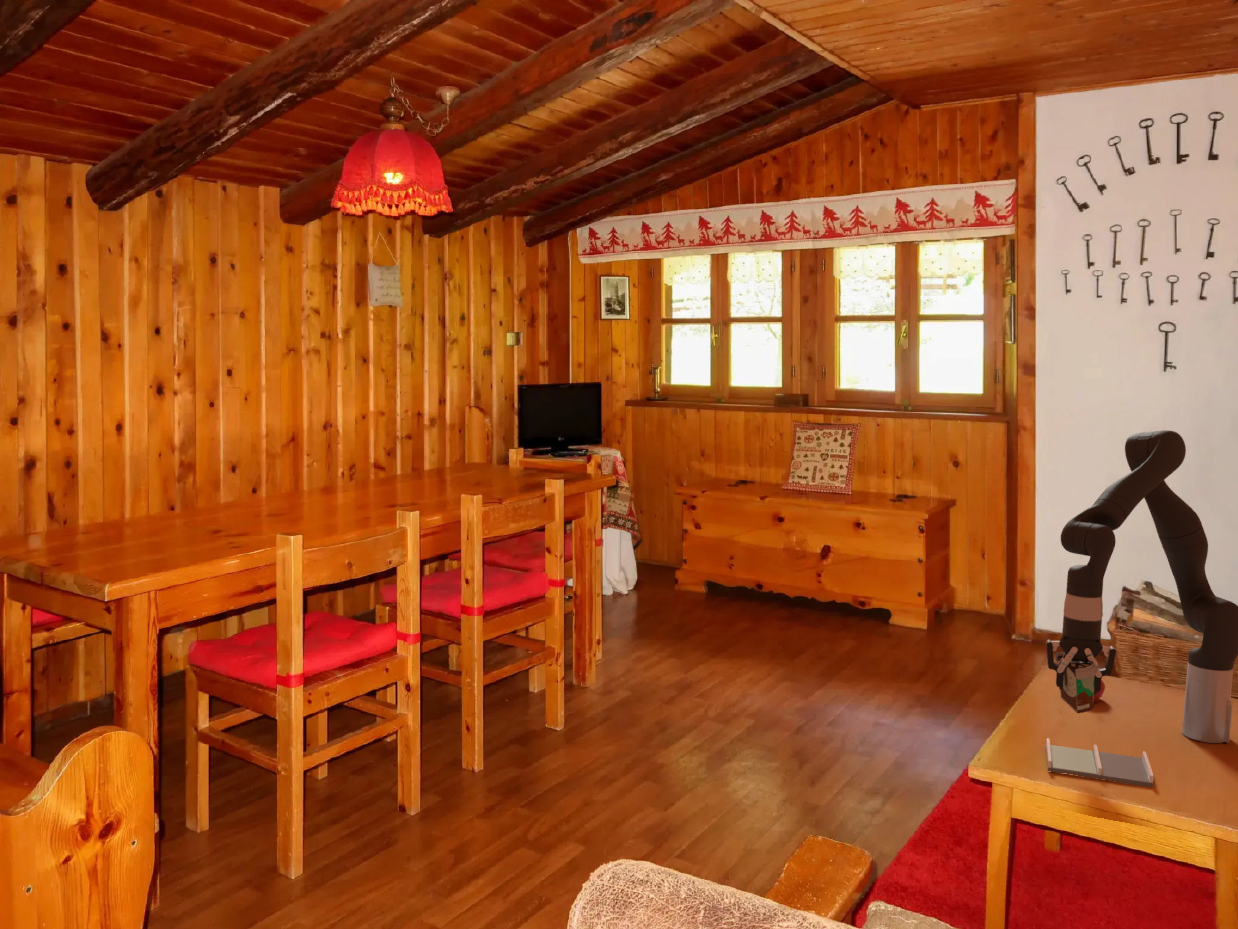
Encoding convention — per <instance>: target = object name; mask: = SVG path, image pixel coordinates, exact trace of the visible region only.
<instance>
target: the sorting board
mask: <svg viewBox="0 0 1238 929" xmlns="http://www.w3.org/2000/svg"><path fill="white" fill-rule="evenodd" d="M1045 743H1046V744H1045V755H1046V754H1047V756H1046V765H1047V766H1048V768H1047V772H1048V771H1051V772H1056V773H1055V774H1058V773H1067V774H1073V775H1078V776H1084V777H1083V778H1085V777H1090V778H1089V779H1091V778H1098V779H1105V780H1111V781H1110V782H1112V781H1116V782H1115V783H1118V782H1120V783H1119V784H1127V785H1133V786H1138V785H1140V787H1147V788H1154V779H1155V778H1154V776H1155V775H1154V773H1153V770H1152V766H1151V764H1150V760H1149V758H1148V755H1147V752H1146V751H1145V750H1143V751H1142V754H1141V756H1140V757H1139V756H1132V755H1125V754H1117V753H1110V752H1104V751H1103V752H1102V751H1099V748H1098V745H1097V744H1093V750H1091V749H1090V750H1089V749H1084V748H1083V749H1082V748H1077V747H1076V748H1075V747H1067V746H1061V745H1053V744H1051V740H1050V737H1047V738H1046V742H1045ZM1051 772H1050V773H1051ZM1078 776H1077V777H1078ZM1098 779H1097V780H1098ZM1105 780H1104V781H1105Z"/></svg>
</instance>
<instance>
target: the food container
mask: <svg viewBox="0 0 1238 929" xmlns="http://www.w3.org/2000/svg"><path fill="white" fill-rule="evenodd" d="M1063 655H1064V651H1063V652H1056V653H1055V662H1056V664H1058V663H1059V662H1060V660H1061V658H1062V657H1063ZM1097 672H1098V670H1097V667H1096V665H1094V662H1093V664H1092V665H1091V664H1090V662H1088V663H1084V662H1081V661H1077V662H1074V661H1072V660H1071V661H1070V662H1069V664H1068V665H1067V666H1066V668H1065V669H1064V681H1063V690H1059V692H1060V698H1061V699H1062V701H1064V702H1065V703H1066V704H1067V705H1068V706H1069V707H1070V708H1071V709H1072V710H1073V711H1074V712H1075V713H1077V714H1082V713H1086V712H1090V711H1091V710H1093V709H1094V708H1095V702H1094V675H1095V674H1096V673H1097Z"/></svg>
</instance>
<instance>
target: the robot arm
mask: <svg viewBox="0 0 1238 929" xmlns="http://www.w3.org/2000/svg"><path fill="white" fill-rule="evenodd" d="M1186 450H1187V447H1186V443H1185V440H1184V438H1183V437H1182V436H1181V434H1180V433H1178V432H1176V431H1173V430H1167V429H1166V430H1165V429H1163V430H1155V431H1145V432H1144V431H1143V432H1139V433H1132V434H1131V435H1129V436H1128V437H1127V439H1126V441H1125V444H1124V453H1125V454H1124V455H1125V459H1126V461H1127V466H1128V467H1129V470H1130V471H1131V472H1129V473H1128V474H1125V475H1124V476H1123V477H1121V478H1119V479H1117V480H1116V481H1114V482H1113V483H1112V484H1110V485H1109V486H1107V487H1106V488H1105V489H1104V491H1102V493H1101V494H1100V495H1099V496H1098V498H1097V499H1096V500H1095V502H1094V503H1093V504H1092V505H1091V506H1090V507H1087V508H1086V509H1084V510H1083V511H1081V512H1080V513H1078V514H1077V515H1075V516H1073V517H1072V518H1071V519H1069V520H1068V522H1066V524H1065V525H1064V527H1063V528H1062V530H1061V533H1060V544H1061V546H1062V548H1063V549H1064V550H1065V551H1067V552H1068V553H1072V554H1074V555H1075V554H1076V555H1081V556H1086V557H1089V560H1088V561H1087V564H1077V565H1072V566H1070V567H1069V568H1068V570H1067V579H1066V589H1065V590H1066V592H1065V599H1064V604H1063V620H1062V630H1061V631H1062V634H1061V638H1060V639H1059V640H1052V639H1047V640H1046V641H1045V644H1046V655H1047V656H1046V657H1047V667H1048V669H1049V670H1053V671H1055V672H1056V675H1055V684H1056V687H1058V689H1059V691H1060V690H1063V681H1064V669H1065V668H1066V666H1067V665H1068V664H1069V662H1070V661H1071V660H1072V661H1074V662H1077V661H1081V662H1084V663H1088V662H1090V664H1091V665H1092V664H1093V662H1094V665H1096V667H1097V670H1098V672H1097V673H1096V674H1095V675H1094V694H1097V692H1100V690H1101V680H1102V678H1104V677H1106V676H1107V677H1109V676H1111V675H1112V672H1113V668H1114V663H1115V659H1116V655H1117V650H1116V648H1115V646H1114V645H1110V646H1107V645H1103V644H1102V642H1101V638H1102V637H1101V636H1102V626H1103V616H1104V612H1103V606H1104V604H1103V602H1104V601H1103V591H1104V590H1103V589H1104V577H1105V575H1106V571H1107V568H1108V566H1109V563H1110V560H1111V557H1112V555H1113V553H1114V550H1115V547H1116V534H1115V533H1114V531H1115V530H1118V529H1119V528H1120V527H1121V526H1122V525H1123V524H1124V523H1125V521H1126V520H1127V519H1128V517H1129V516H1130V515H1131V513H1132V512H1133V511H1134V510H1135V508H1136V507H1137V506H1138V505H1139V504H1140V503H1141V501H1143V499H1144V500H1145V503H1146V505H1147V508H1148V510H1149V512H1150V515H1151V518H1152V521H1153V523H1154V526H1155V530H1156V532H1157V536H1158V538H1159V542H1160V543H1161V547H1162V549H1163V552H1164V554H1165V557H1166V560H1167V561H1168V565H1169V568H1170V570H1171V573H1172V576H1173V578H1174V581H1175V585H1176V588H1177V592H1178V598H1179V601H1180V605H1181V610H1182V614H1183V617H1184V620H1185V622H1186V623H1187V624H1188V627H1189V628H1191V629H1192V630H1194V631H1196V632H1197V633H1201V634H1203V636H1202V641H1201V646H1200V647H1195V648H1191V649H1189V651H1188V653H1187V654H1188V655H1187V669H1186V680H1185V691H1184V704H1183V716H1182V717H1183V718H1182V723H1181V724H1182V725H1181V727H1182V728H1181V733H1182V734H1183V736H1185V737H1186V738H1189V739H1192V740H1195V741H1198V742H1202V743H1209V744H1224V743H1223V742H1227V743H1226V744H1229V743H1230V737H1231V735H1230V734H1231V728H1232V726H1231V725H1232V715H1233V702H1232V700H1231V698H1232V686H1233V677H1234V676H1233V675H1234V665H1235V662H1236V659H1237V658H1238V605H1237V604H1236V603H1235V602H1233V601H1230V600H1227V599H1225V598H1222V597H1219V596H1217V595H1215V593H1214V592H1213V589H1212V587H1211V585H1210V583H1209V580H1208V578H1207V575H1206V561H1207V558H1208V552H1209V542H1208V538H1207V535H1206V533H1205V532H1206V531H1205V529H1204V526H1203V524H1202V521H1201V519H1200V517H1199V515H1198V514H1197V512H1196V511H1195V510H1194V509H1193V508H1192V507H1191V506H1190V505H1189V504H1188V503H1187V502H1185V500H1183V499H1182V497H1180V496H1179V495H1177V493H1176V492H1174V490H1172V489H1171V488H1170V487H1169V485H1168V484H1167V482H1166V479H1167V478H1169V476H1171V475H1172V474H1173V473H1174V472H1175V471H1177V470H1178V469H1179V468H1180V466H1181V465H1182V464H1183V462H1184V460H1185V457H1186V452H1187V451H1186ZM1058 647H1060V649H1061V651H1063V652H1064V655H1063V657H1062V658H1061V660H1060V662H1059V663H1058V664H1057V662H1055V661H1054V652H1056V651H1057V650H1058ZM1101 652H1103V654H1104V656H1105V657H1106V660H1105V664H1104V667H1103V668H1100V666H1099V664H1098V662H1097V659H1096V657H1097V656H1098V655H1099V654H1100V653H1101Z"/></svg>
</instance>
